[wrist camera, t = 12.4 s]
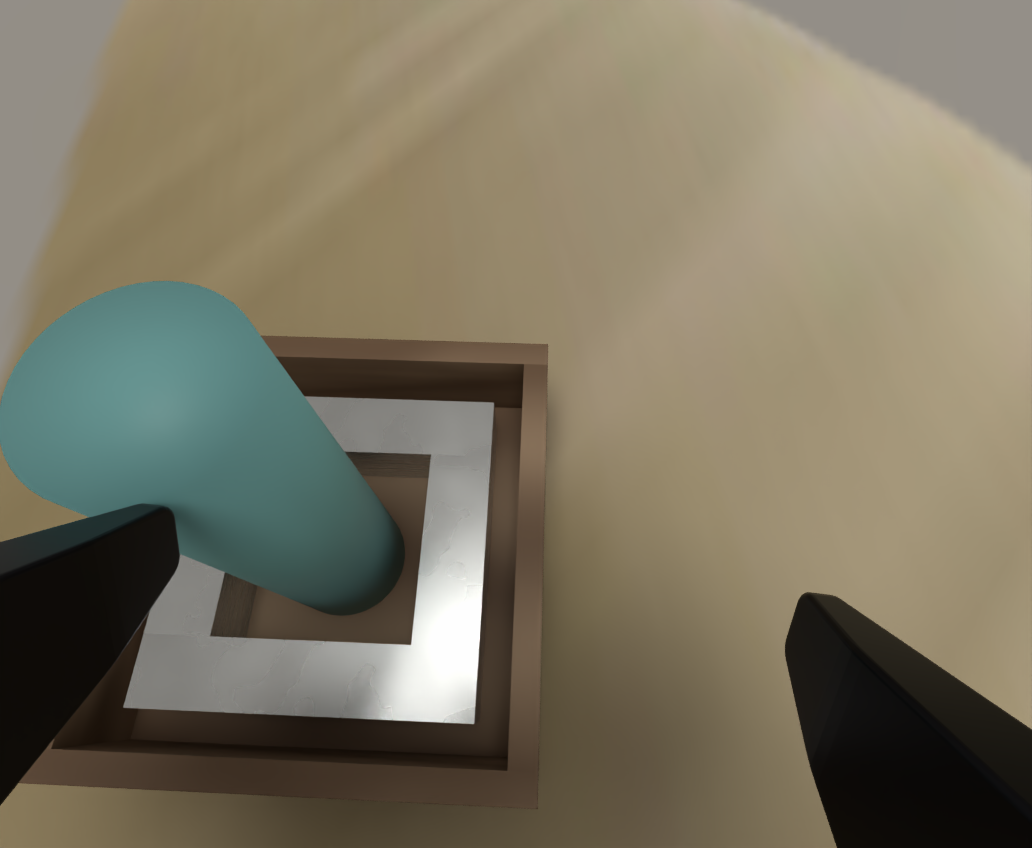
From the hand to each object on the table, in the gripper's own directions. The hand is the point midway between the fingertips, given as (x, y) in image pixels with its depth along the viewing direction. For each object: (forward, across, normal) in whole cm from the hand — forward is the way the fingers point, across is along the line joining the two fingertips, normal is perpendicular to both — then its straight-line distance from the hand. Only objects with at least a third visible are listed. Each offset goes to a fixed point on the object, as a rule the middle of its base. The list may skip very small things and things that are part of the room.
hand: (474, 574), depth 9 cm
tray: (+11, +6, +8) cm, 15 cm away
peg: (+10, +6, +7) cm, 14 cm away
